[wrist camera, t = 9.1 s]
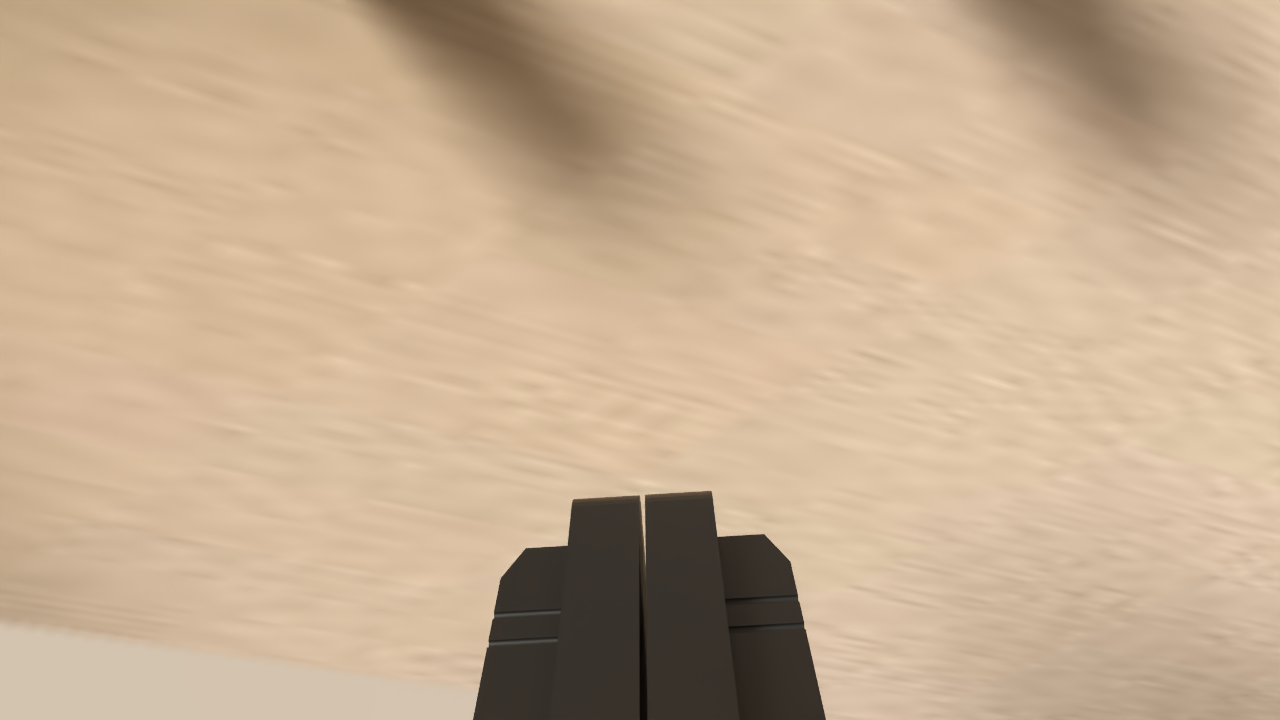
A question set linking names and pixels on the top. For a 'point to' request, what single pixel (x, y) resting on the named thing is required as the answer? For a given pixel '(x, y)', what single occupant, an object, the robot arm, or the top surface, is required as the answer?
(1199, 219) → the top surface
